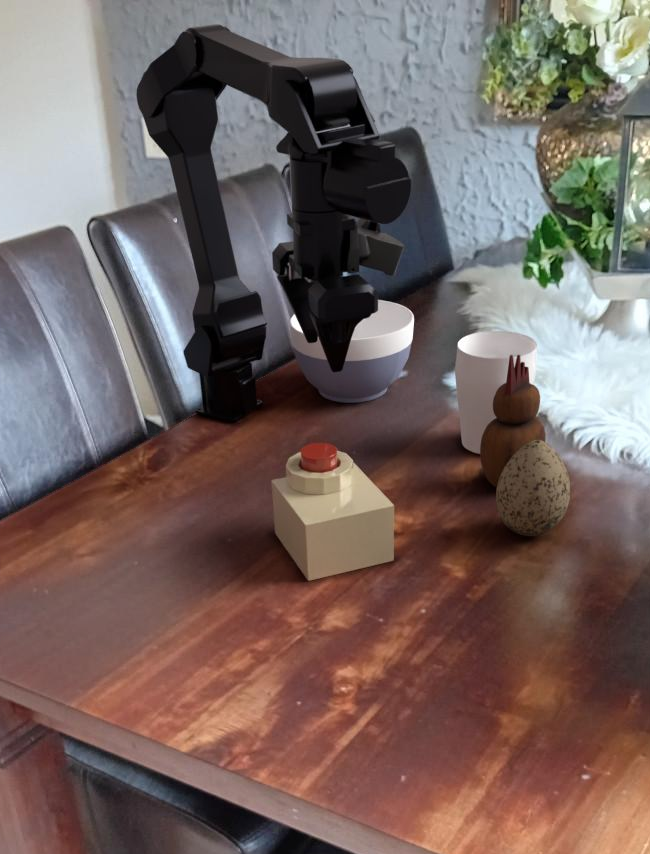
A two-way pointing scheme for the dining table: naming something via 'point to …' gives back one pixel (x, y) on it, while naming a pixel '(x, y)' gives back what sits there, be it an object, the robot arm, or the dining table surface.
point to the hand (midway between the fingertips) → (324, 356)
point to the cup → (486, 377)
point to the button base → (332, 519)
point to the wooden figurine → (511, 421)
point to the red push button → (319, 458)
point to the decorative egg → (533, 490)
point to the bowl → (360, 356)
